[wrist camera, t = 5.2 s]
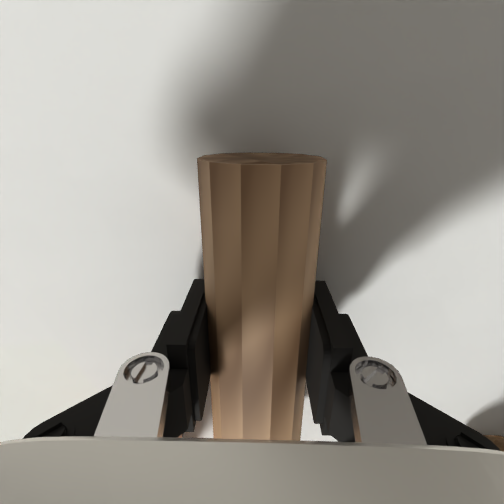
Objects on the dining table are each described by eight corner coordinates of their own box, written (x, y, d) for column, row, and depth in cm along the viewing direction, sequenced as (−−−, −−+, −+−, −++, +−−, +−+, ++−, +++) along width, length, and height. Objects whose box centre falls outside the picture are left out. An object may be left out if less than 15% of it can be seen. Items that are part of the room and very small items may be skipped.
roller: (210, 152, 10) (185, 164, 7) (314, 153, 10) (337, 166, 7) (221, 410, 15) (209, 488, 12) (293, 412, 15) (301, 493, 12)
